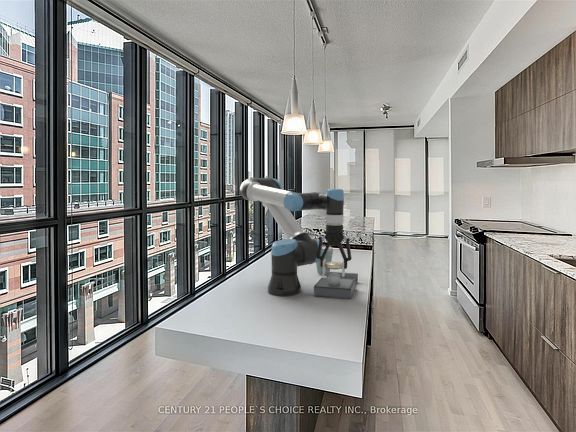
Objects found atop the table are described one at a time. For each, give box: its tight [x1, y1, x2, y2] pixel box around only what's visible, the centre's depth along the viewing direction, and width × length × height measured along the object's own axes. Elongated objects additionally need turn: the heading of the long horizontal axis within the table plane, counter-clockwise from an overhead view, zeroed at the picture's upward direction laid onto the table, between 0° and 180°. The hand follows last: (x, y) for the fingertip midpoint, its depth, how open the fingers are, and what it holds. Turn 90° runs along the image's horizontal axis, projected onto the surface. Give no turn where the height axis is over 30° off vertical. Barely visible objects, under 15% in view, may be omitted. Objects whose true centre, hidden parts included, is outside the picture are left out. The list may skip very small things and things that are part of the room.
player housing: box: [313, 273, 356, 300], centre depth 175 cm, size 16×16×9 cm
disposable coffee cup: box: [315, 244, 334, 275], centre depth 212 cm, size 11×11×15 cm
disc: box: [325, 261, 342, 270], centre depth 172 cm, size 8×8×2 cm
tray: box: [326, 271, 359, 284], centre depth 188 cm, size 16×16×4 cm
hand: (333, 275), depth 173 cm, fingers closed on disc, 8 cm apart
